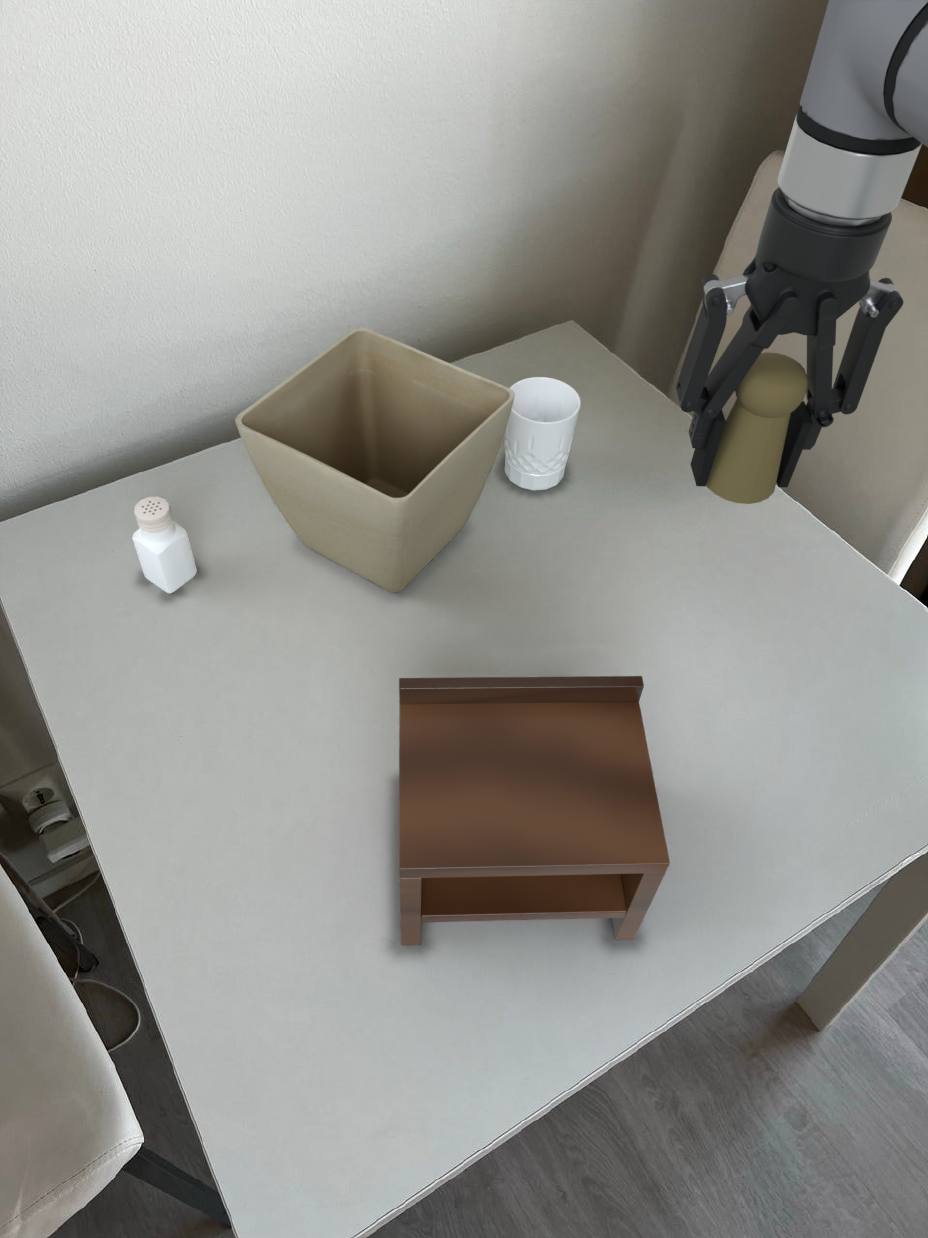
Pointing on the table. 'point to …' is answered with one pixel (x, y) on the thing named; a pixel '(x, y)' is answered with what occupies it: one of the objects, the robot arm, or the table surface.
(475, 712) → the miniature wooden nightstand
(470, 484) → the flower pot
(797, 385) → the olive pawn
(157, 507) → the salt shaker
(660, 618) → the table surface
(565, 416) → the white cup
